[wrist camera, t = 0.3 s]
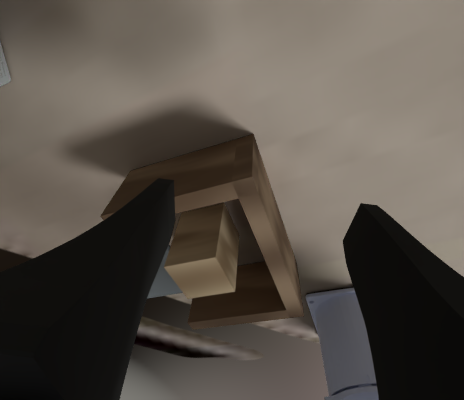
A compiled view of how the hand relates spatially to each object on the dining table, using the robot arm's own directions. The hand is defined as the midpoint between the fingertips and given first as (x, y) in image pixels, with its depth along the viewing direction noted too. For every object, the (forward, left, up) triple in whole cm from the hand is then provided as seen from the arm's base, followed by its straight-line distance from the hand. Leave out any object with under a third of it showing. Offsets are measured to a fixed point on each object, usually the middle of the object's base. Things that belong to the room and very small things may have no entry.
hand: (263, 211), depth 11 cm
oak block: (-8, +7, -10) cm, 15 cm away
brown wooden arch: (-8, +6, -10) cm, 14 cm away
